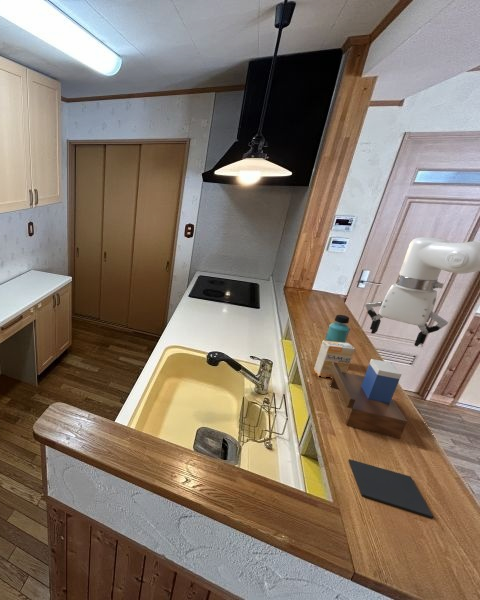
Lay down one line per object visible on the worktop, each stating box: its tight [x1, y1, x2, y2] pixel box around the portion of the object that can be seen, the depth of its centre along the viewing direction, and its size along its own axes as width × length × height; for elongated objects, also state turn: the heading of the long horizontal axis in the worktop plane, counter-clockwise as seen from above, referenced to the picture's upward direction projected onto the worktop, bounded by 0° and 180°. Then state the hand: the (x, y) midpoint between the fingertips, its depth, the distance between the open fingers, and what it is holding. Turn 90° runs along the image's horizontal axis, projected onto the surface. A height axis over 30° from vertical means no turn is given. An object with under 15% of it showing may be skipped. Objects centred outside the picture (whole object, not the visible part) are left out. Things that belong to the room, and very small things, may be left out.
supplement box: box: [313, 339, 356, 379], centre depth 116 cm, size 8×5×13 cm, turn 76°
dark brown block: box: [329, 362, 408, 440], centre depth 100 cm, size 13×22×9 cm, turn 154°
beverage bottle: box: [324, 314, 351, 343], centre depth 123 cm, size 6×7×20 cm
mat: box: [348, 458, 434, 520], centre depth 75 cm, size 12×11×1 cm
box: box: [361, 358, 402, 403], centre depth 96 cm, size 5×7×10 cm
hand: (394, 338), depth 95 cm, fingers open, 9 cm apart
